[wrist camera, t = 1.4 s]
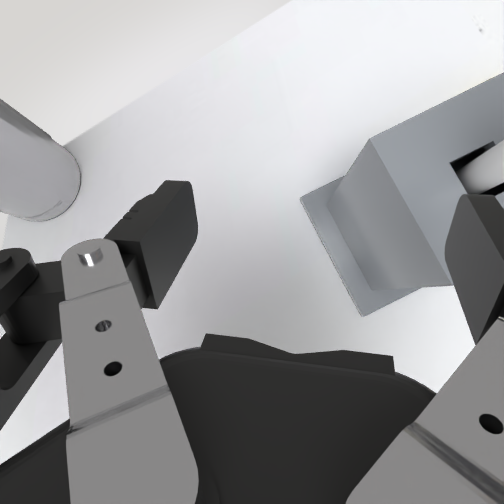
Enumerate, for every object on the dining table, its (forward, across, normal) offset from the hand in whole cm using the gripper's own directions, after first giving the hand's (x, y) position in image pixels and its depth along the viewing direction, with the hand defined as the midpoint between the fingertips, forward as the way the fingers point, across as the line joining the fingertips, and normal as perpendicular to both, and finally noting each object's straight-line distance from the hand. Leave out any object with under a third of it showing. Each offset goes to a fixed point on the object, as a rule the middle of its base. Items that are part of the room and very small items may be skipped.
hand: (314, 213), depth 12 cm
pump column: (+26, -7, +16) cm, 31 cm away
